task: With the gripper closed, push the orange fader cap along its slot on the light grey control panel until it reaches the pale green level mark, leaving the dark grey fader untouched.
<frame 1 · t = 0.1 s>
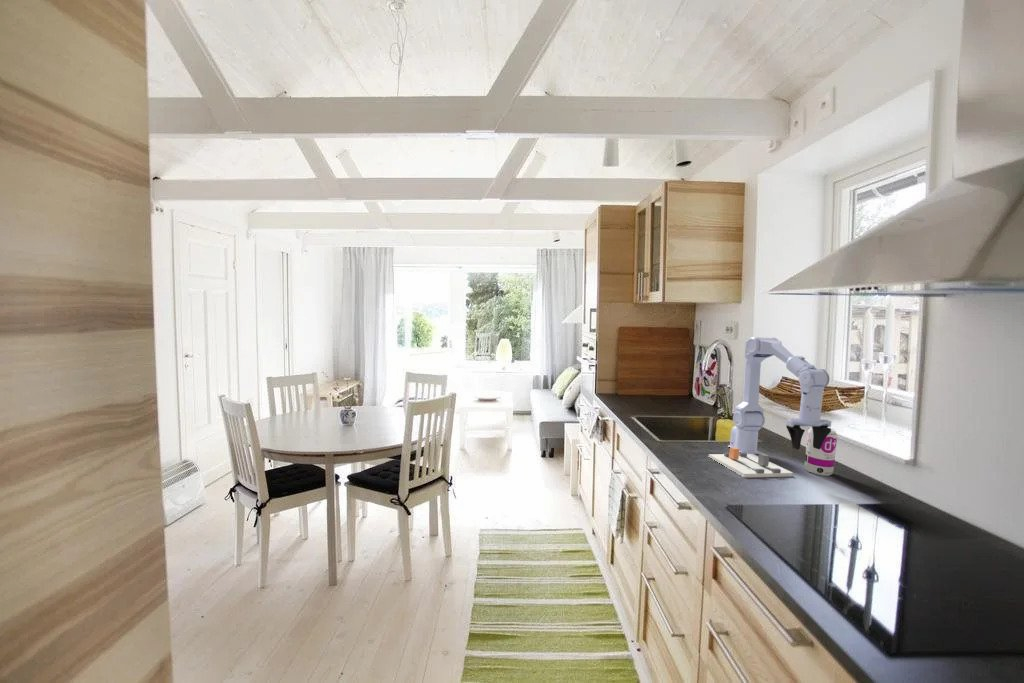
hand: (806, 448, 150), 10 cm above the counter, tool pointing down, fingers open, 7 cm apart
fader orange: (734, 453, 163), point 3 cm above the counter, slide at 1.0 cm
supplement can: (818, 472, 158), on the counter
panel: (748, 466, 160), on the counter
fader grey: (763, 459, 157), point 3 cm above the counter, slide at 8.0 cm
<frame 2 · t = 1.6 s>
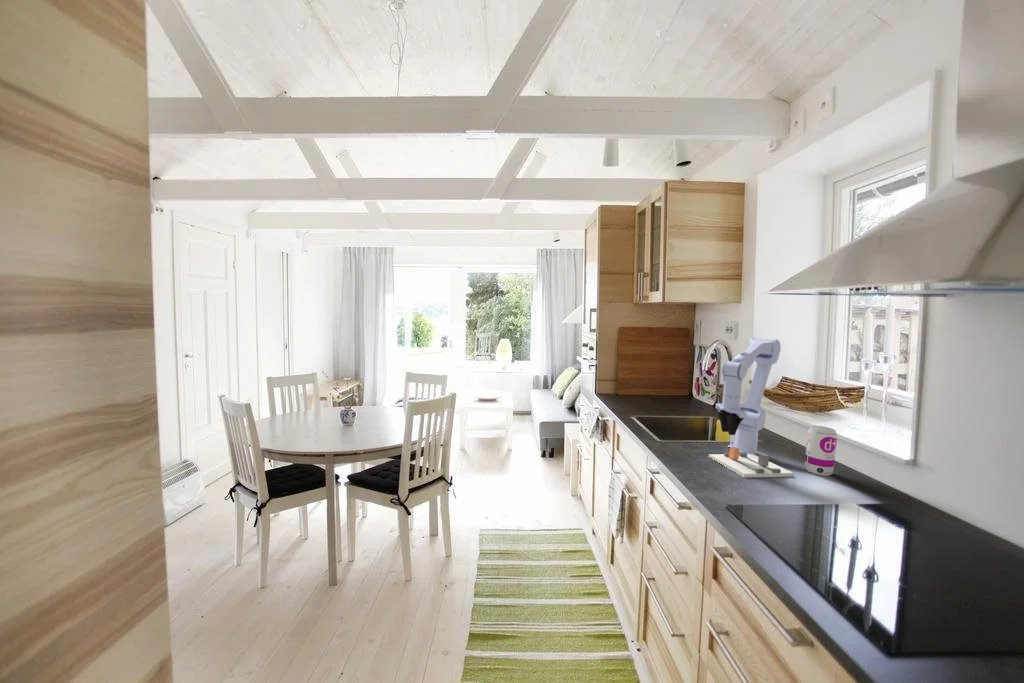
hand: (728, 433, 166), 9 cm above the counter, tool pointing down, fingers open, 3 cm apart
nothing on the counter moved.
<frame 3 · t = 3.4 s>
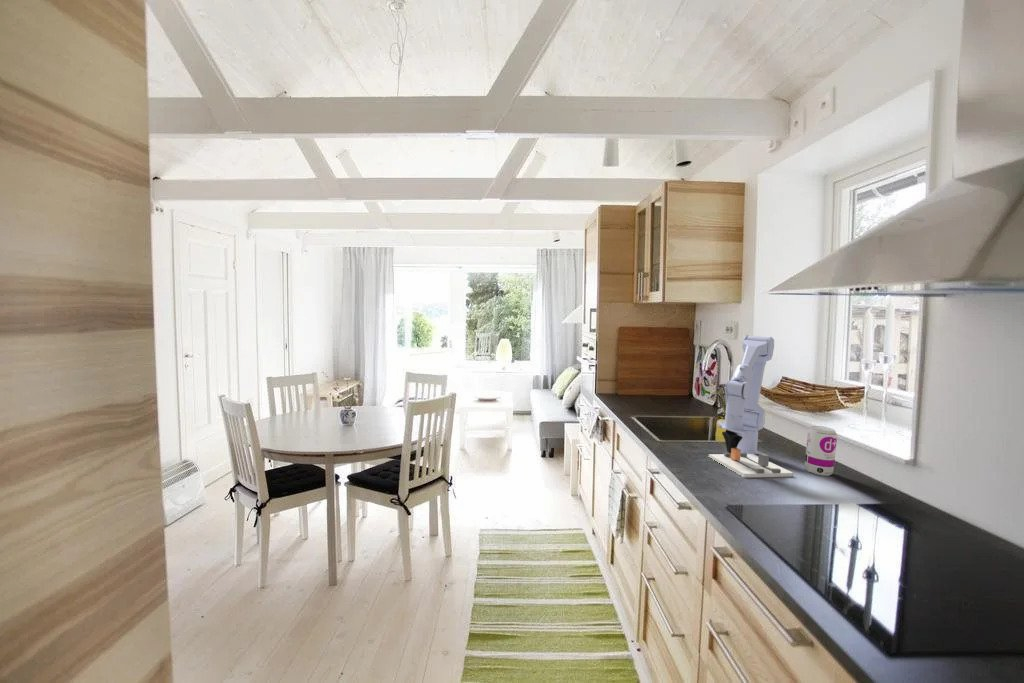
hand: (730, 452, 165), 3 cm above the counter, tool pointing down, fingers closed
fader orange: (735, 453, 162), point 3 cm above the counter, slide at 1.8 cm, touching gripper
everything else where it was.
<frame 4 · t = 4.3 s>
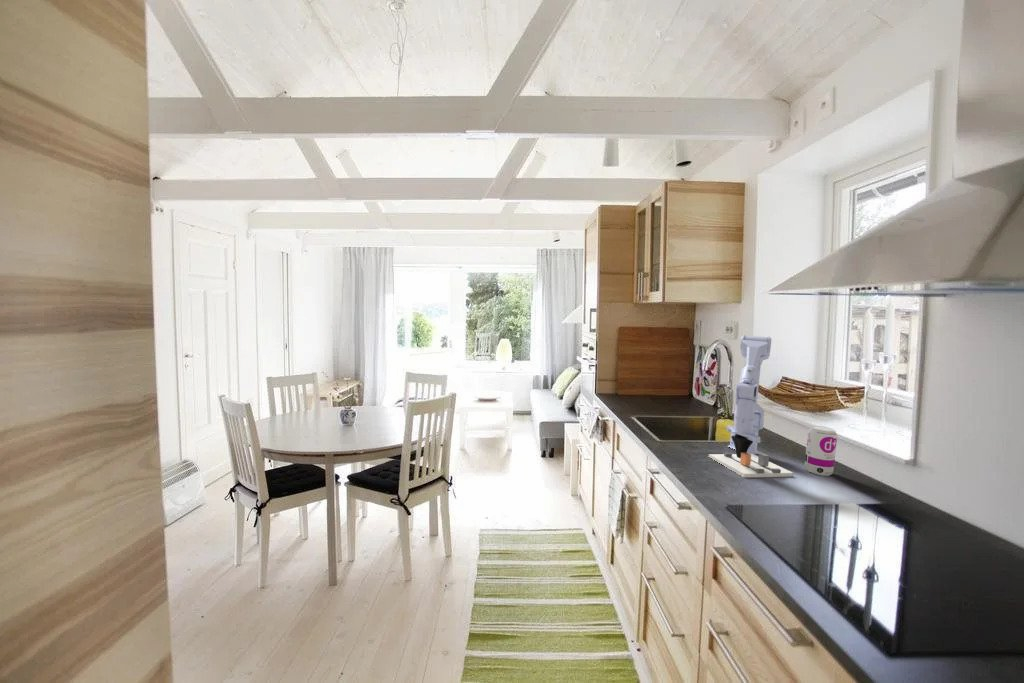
hand: (740, 457, 160), 3 cm above the counter, tool pointing down, fingers closed
fader orange: (745, 458, 157), point 3 cm above the counter, slide at 7.0 cm, touching gripper
everything else where it was.
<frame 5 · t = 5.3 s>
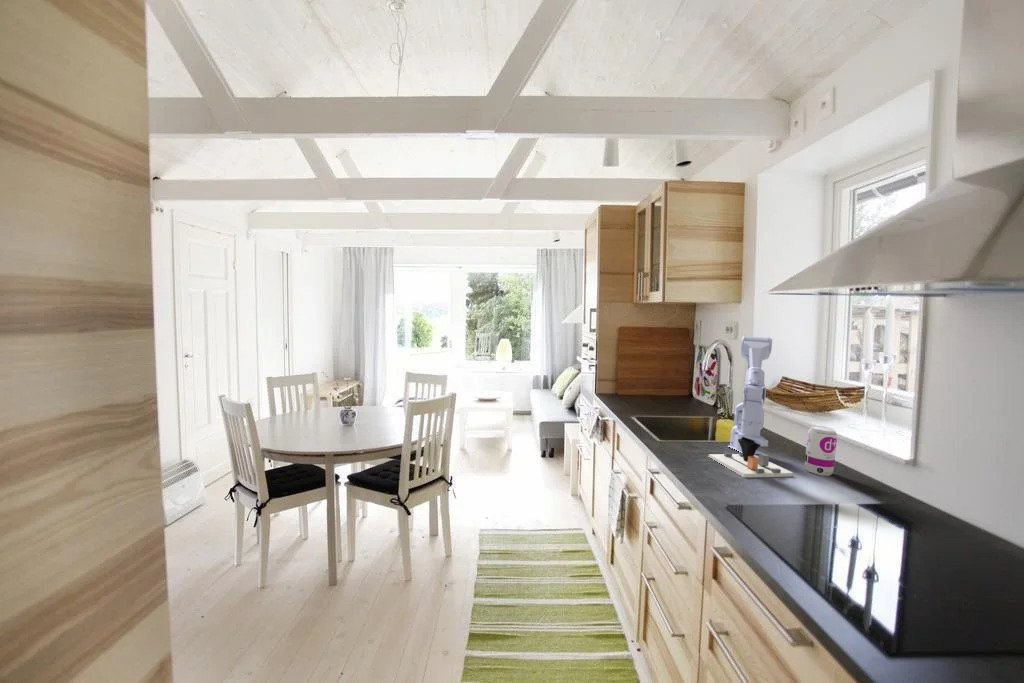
hand: (747, 461, 156), 3 cm above the counter, tool pointing down, fingers closed
fader orange: (752, 462, 154), point 3 cm above the counter, slide at 10.5 cm, touching gripper
everything else where it was.
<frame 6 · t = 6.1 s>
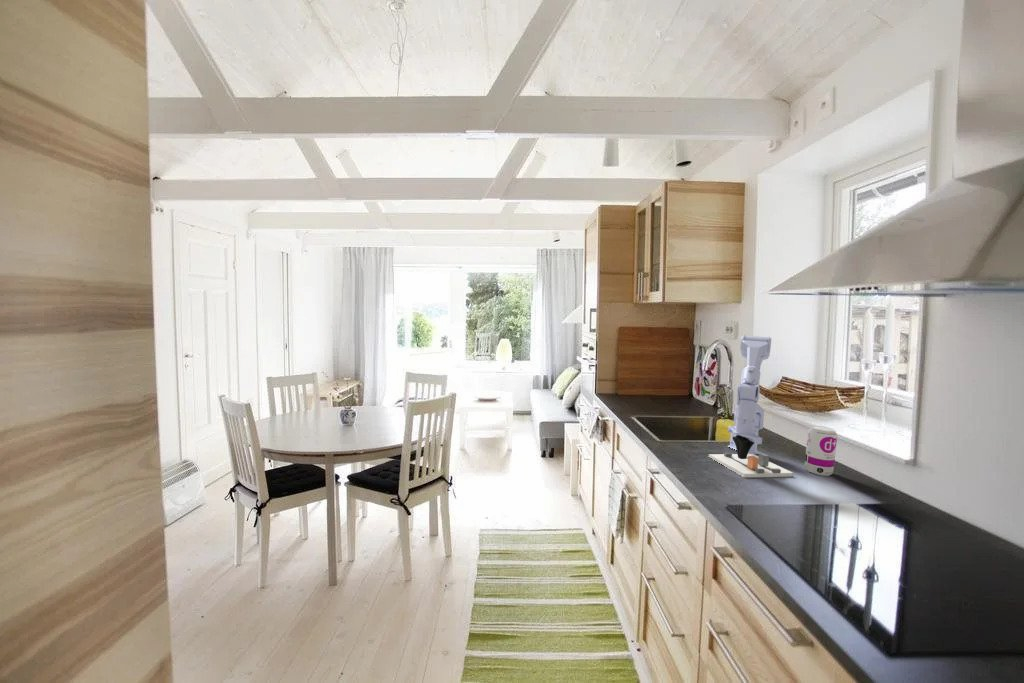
hand: (741, 458, 159), 3 cm above the counter, tool pointing down, fingers closed
fader orange: (752, 462, 154), point 3 cm above the counter, slide at 10.5 cm
everything else where it was.
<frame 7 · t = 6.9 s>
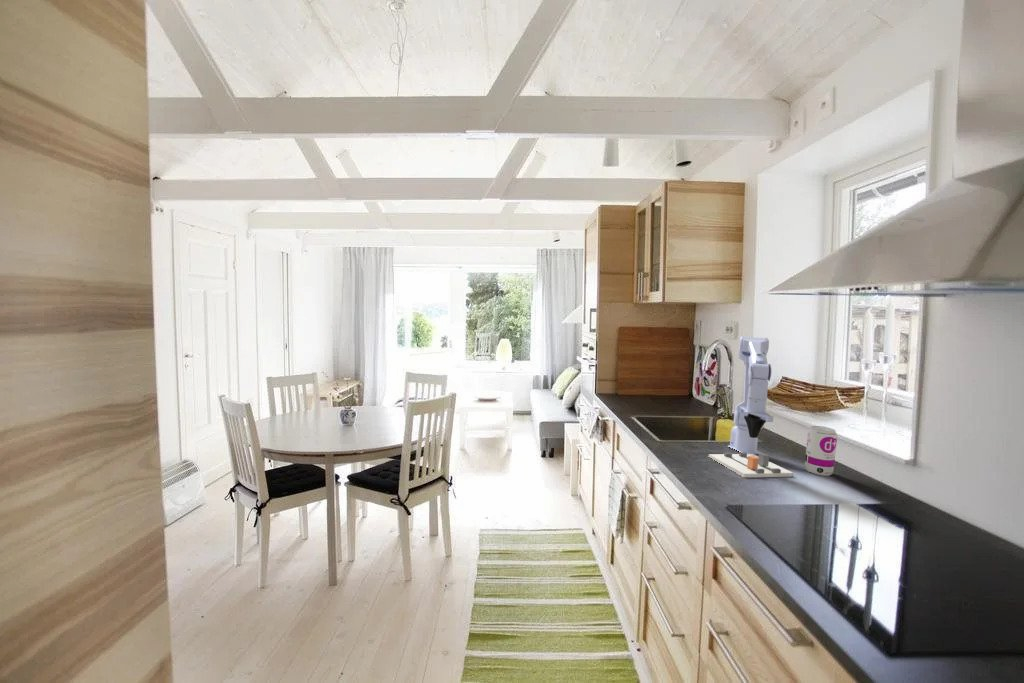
hand: (753, 437, 161), 10 cm above the counter, tool pointing down, fingers closed
nothing on the counter moved.
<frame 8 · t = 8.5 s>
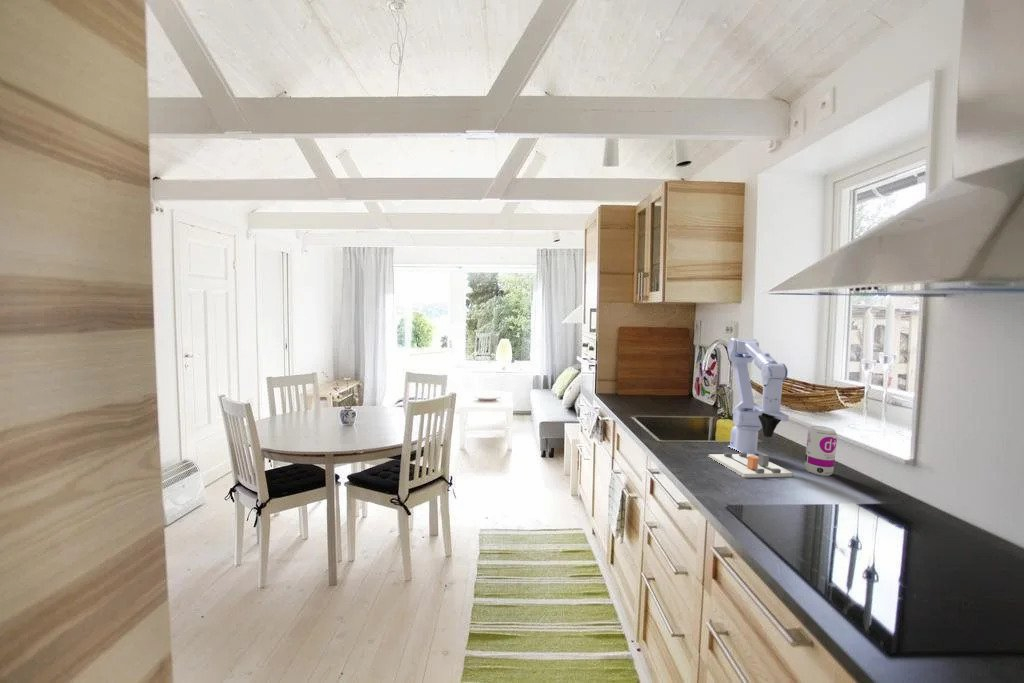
hand: (767, 436, 163), 10 cm above the counter, tool pointing down, fingers closed
nothing on the counter moved.
at the end: fader orange slide at 10.5 cm; fader grey slide at 8.0 cm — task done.
